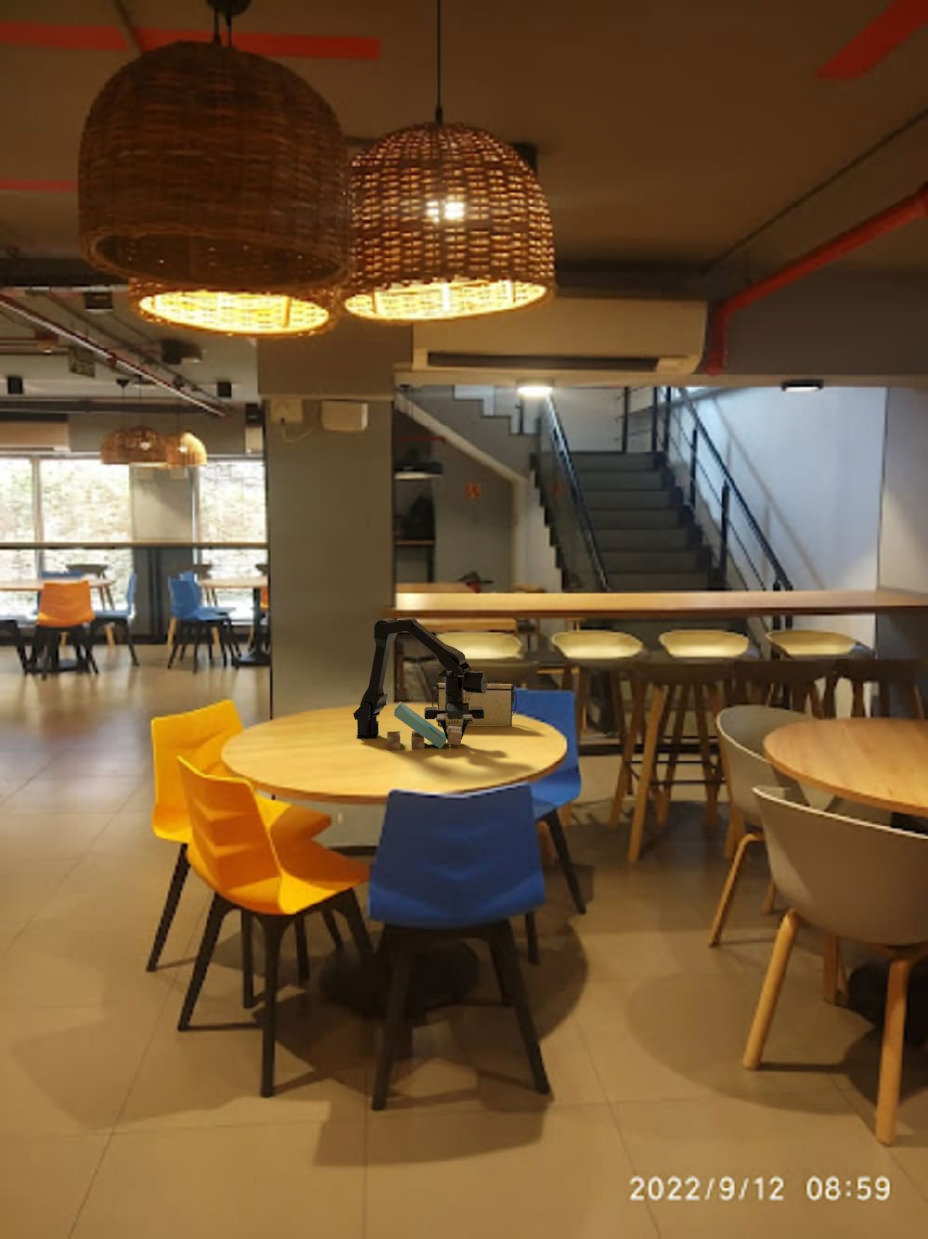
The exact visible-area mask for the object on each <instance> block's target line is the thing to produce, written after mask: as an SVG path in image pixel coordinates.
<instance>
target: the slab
mask: <svg viewBox="0 0 928 1239" xmlns="http://www.w3.org/2000/svg"><path fill="white" fill-rule="evenodd" d="M393 713H394V714H393V716H394V717H395V718H396V719H398V720H399V721H401V722H403V723H404V724H405V725H406V726H407V727H409V728H411V729H412V731H416V732H417V733H419V734H420V735H422V736H423V737H424V739H425V740H427V741H428V742H430V743H431V744H432V745H434V746H436V747H437V748H438V749H439V750H442V747H444V745H445V744H446V742H447V740H446V737H445V733H444V731H442V730H440V728H438V727H436V726H435V725H434V724H432V723H431V722H429V721H428V719H425V717H423V716H421V715H420V714H419V713H417V712H416V711H414V710H412V708H410V707H408V706H407V704H404V702H402V701H399V703H398V704H397V706H396V707H395V708H394V712H393Z"/></svg>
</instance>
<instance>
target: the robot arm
mask: <svg viewBox="0 0 928 1239" xmlns="http://www.w3.org/2000/svg"><path fill="white" fill-rule="evenodd" d="M402 632H403V633H404V632H406V633H408V634H409V635H410V636H412V637H413V638H414V639H416V640H417V641H418V642H419V643H421V644H422V645H423V646H424V647H425V648H426V649H427V650H429V651H430V652H431V653H432V654H434V655H435V657H436V659H437V661H438V662H439V664H440V665H441V666H442V667H443V670H442V671H441V672H440V673H438V677H440V678H444V683H445V710H438V706H434V707H433V706H425V708H424V716H423V718H424V719H425V720H435V721H436V722H437V723H438V722H440V724H441V728H442V730H443V733H445V737H446V741H447V740H448V734H447V732H448V726H447V725H446V720H445V716H447V718H448V719H450V720H452V719H462V725H460V727H461V731H462V738H461V741H462V740H463V738H464V734H465V732H466V728H467V726H468V725H467V724H468V723H469V722H470V721H473V719H472V717H473V718H474V719H483V718H484V709H483V708H482V707H481V706H472V707H471V710H469V703H463V689H464V690H465V691H466V692H470V693H482V694H484V693H485V692H486V690H487V684H489V682H488V679H487V676H486V672H485V671H482V670H480V671H474V670H473V669H472V668H471V666H470V664H469V663H468V662H467V659H466V654H465V653H464V652H462V651H461V650H459V649H457V648H456V647H454V646H451V645H450V644H449V645H448V644H447V643H445V642H443V641H442V640H441V639H439V637H437V636H436V635H435V634H433V633H432V632H431V631H430V630H429V629H427V628H426V627H425V626H423V625H422V624H421V623H420V622H418V619H416V618H415V617H409V618H405V619H402V618H401V619H394V618H392V617H388V618H385V619H382V620H378V621H376V622H375V624H374V626H373V640H374V643H375V649H374V653H373V654H374V655H373V658H372V659H373V660H372V665H371V671H370V676H369V683H368V687H367V688H366V690H365V691H364V694H363V696H362V698H361V700H360V704H359V707H358V708H357V709H356V710H355V711H354V712H353V713H352V716H353V718H354V720H356V724H357V730H356V732H357V734H356V738H357V739H376V738H378V736H379V733H380V730H379V724H380V723H379V722H380V721H379V720H377V719H378V717H379V716H380V714H381V711H383V710H384V708H385V706H387V699H388V698H389V697H388V696H389V694H388V693H385V692H384V684H385V683H384V682H385V677H386V672H387V668H388V662H389V661H388V660H389V657H390V651H391V650H390V649H391V647H392V645H393V643H394V641H395V640H396V637H397V635H398V633H402Z"/></svg>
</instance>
